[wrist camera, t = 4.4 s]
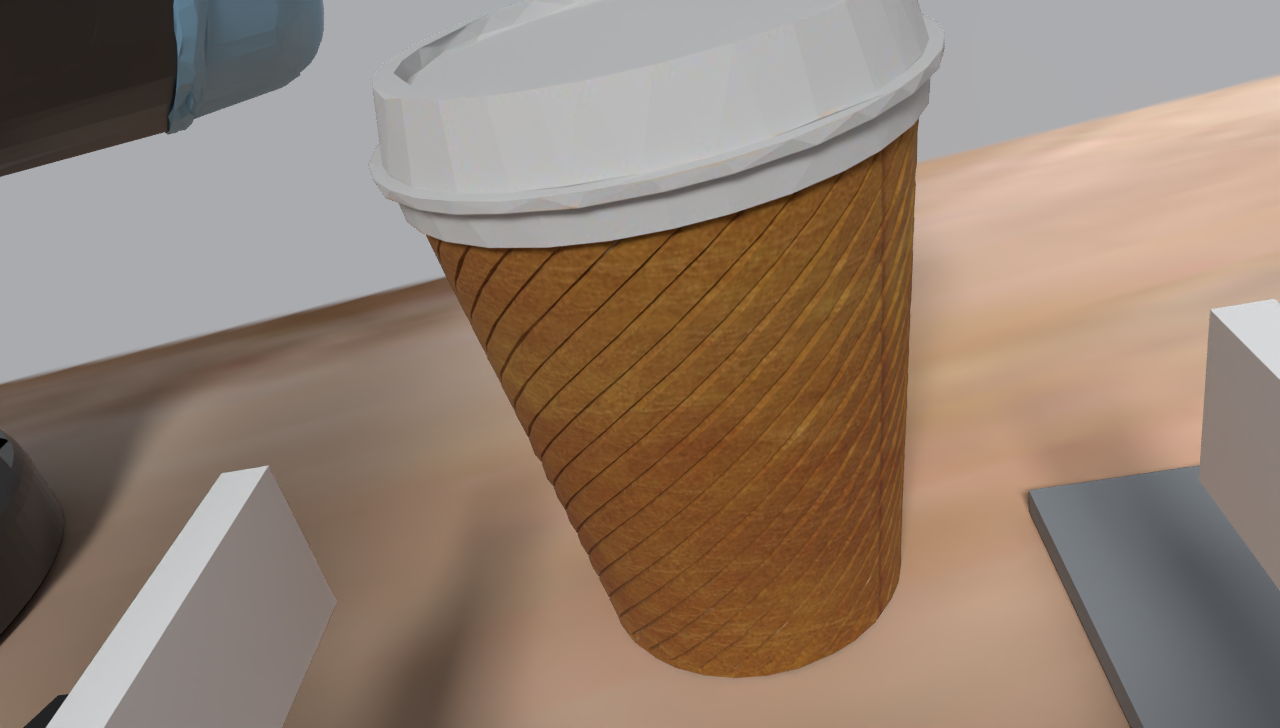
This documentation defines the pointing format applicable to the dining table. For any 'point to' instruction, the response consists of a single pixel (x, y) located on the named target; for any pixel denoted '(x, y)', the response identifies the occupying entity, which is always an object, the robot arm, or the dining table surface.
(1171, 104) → the dining table surface
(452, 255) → the disposable coffee cup
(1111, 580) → the mat
